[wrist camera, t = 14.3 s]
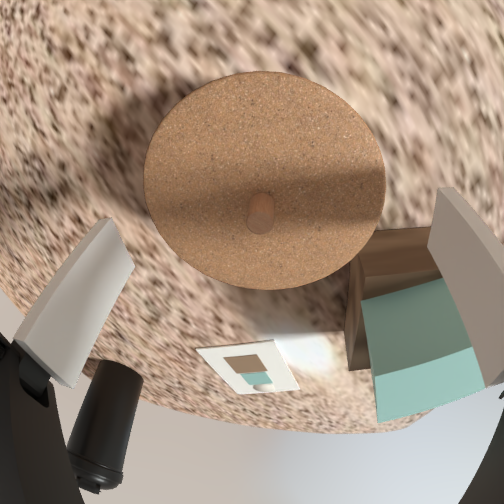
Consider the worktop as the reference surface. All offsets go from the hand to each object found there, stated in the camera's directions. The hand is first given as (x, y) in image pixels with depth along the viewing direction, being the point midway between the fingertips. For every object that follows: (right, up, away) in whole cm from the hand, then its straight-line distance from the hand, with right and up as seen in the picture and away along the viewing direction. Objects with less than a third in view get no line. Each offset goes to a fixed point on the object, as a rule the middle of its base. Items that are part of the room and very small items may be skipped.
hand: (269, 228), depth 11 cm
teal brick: (+14, -7, +10) cm, 18 cm away
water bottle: (-23, -22, +33) cm, 46 cm away
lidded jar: (0, +6, +7) cm, 10 cm away
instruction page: (-1, -17, +26) cm, 31 cm away
